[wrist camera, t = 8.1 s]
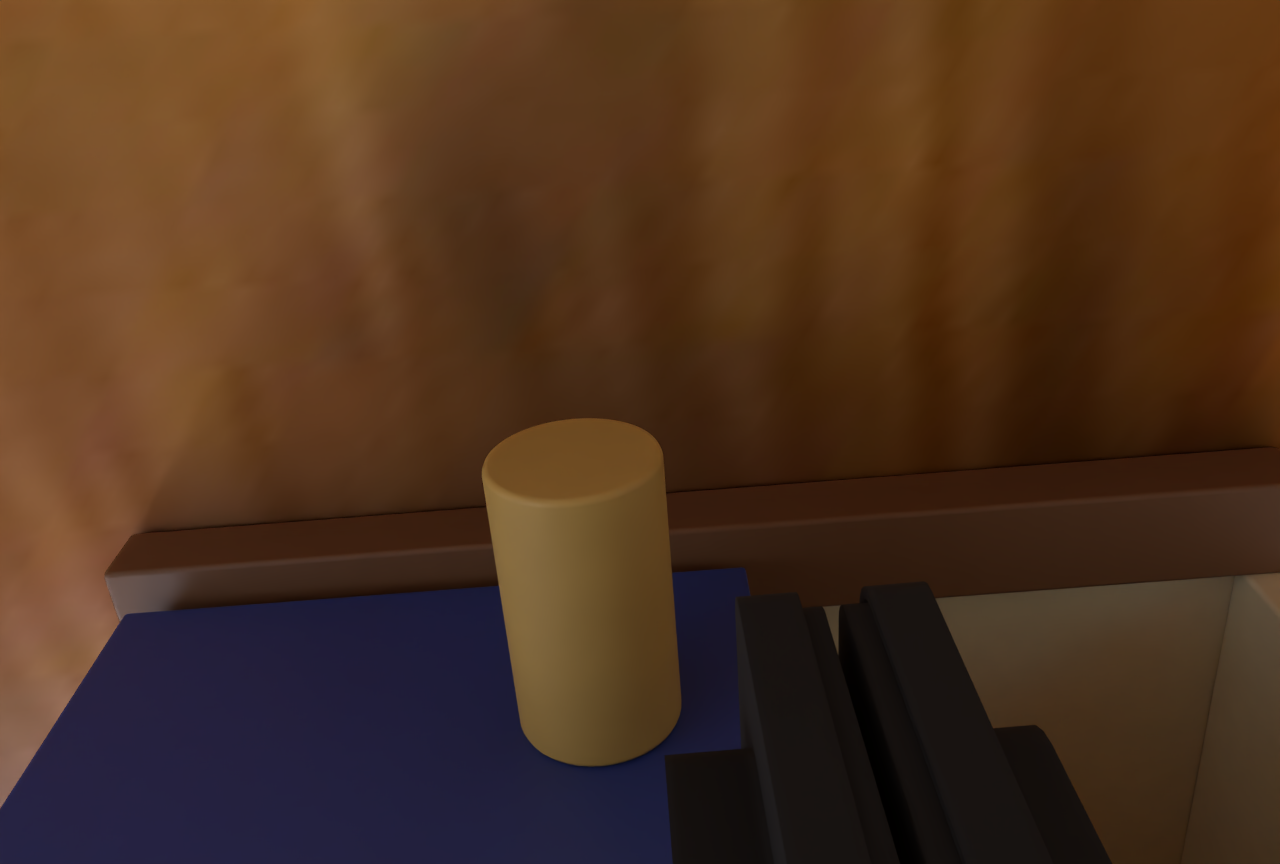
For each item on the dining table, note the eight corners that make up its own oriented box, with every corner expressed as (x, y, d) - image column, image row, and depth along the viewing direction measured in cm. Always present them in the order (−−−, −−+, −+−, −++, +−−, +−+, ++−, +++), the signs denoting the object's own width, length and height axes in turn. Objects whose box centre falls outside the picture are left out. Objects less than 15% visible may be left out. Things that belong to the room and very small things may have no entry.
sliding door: (50, 391, 15) (-629, 1037, 7) (735, 337, 15) (890, 928, 7) (135, 644, 17) (-318, 1395, 9) (746, 599, 17) (878, 1314, 9)
